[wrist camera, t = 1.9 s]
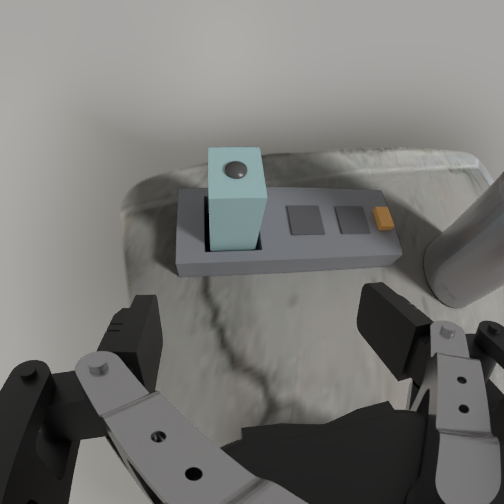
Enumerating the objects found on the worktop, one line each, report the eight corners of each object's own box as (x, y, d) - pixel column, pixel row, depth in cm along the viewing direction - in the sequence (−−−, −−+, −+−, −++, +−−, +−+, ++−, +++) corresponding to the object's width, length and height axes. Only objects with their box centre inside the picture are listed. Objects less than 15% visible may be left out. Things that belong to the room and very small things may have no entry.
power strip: (179, 277, 28) (174, 259, 24) (181, 206, 31) (177, 183, 28) (389, 266, 31) (407, 250, 27) (371, 205, 34) (384, 186, 31)
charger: (210, 261, 29) (208, 197, 20) (209, 217, 31) (208, 145, 22) (252, 259, 29) (267, 196, 20) (247, 216, 32) (259, 145, 23)
